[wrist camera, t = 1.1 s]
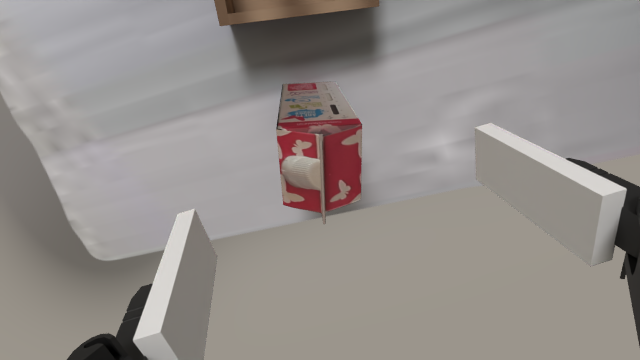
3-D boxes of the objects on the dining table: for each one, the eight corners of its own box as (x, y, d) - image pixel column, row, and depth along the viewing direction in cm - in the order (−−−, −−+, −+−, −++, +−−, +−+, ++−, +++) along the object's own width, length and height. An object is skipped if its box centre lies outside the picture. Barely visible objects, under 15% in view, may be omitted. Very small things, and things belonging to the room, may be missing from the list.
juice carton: (286, 135, 47) (282, 226, 27) (282, 84, 44) (274, 144, 24) (336, 132, 47) (368, 221, 27) (335, 81, 44) (370, 138, 24)
